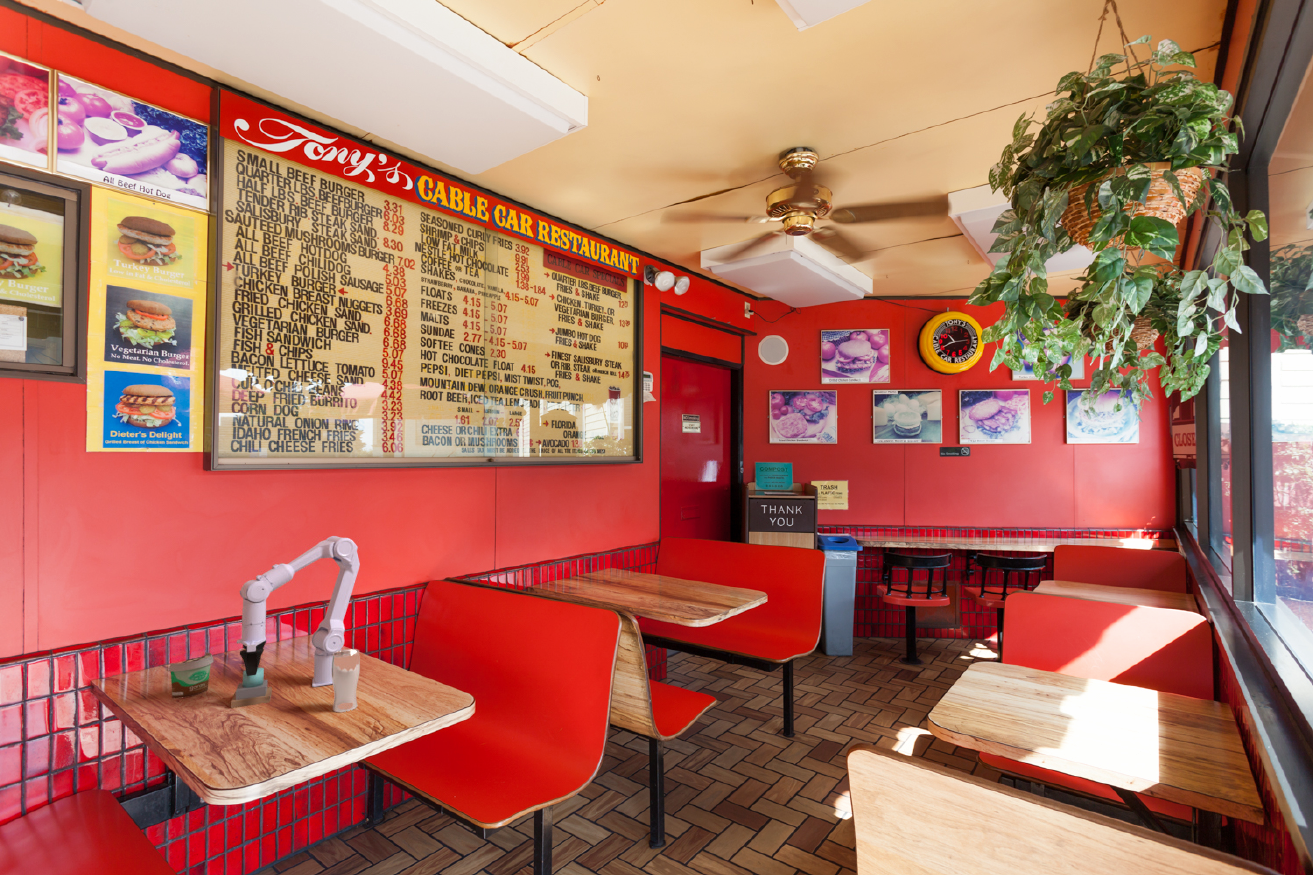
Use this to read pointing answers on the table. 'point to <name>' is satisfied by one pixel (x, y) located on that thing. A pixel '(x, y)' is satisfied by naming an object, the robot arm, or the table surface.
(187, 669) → the food container
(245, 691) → the tower top
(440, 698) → the table surface
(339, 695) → the beer glass
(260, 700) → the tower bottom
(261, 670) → the teal domed cylinder
